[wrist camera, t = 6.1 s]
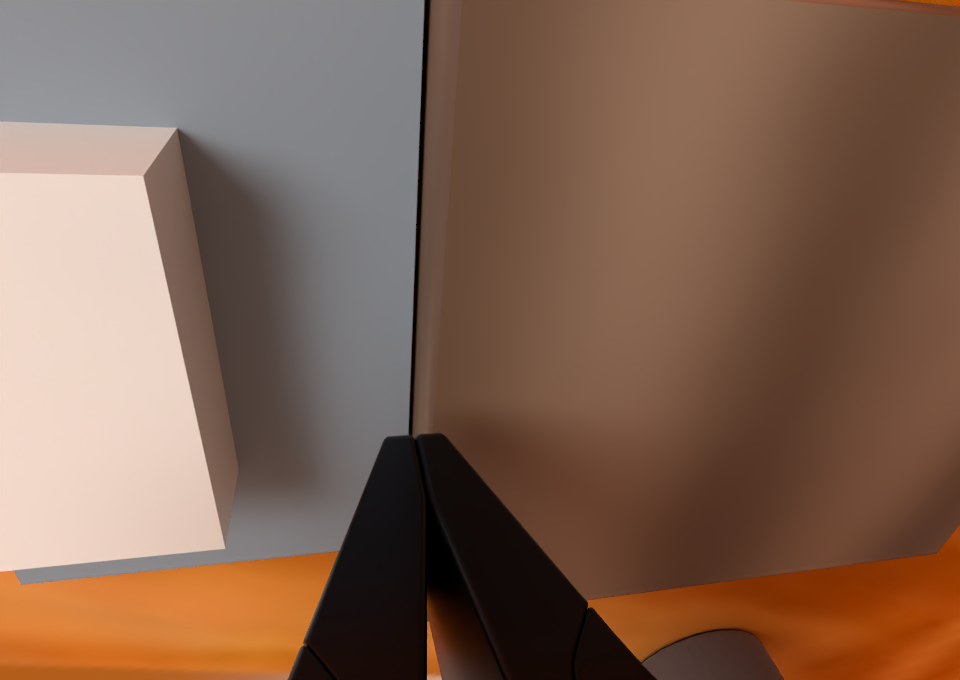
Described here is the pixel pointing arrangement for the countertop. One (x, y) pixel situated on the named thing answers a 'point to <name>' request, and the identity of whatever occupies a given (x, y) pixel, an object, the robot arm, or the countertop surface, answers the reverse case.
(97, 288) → the pale pink rectangular block
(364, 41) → the mat
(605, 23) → the step
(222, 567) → the countertop surface
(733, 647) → the bottle
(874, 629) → the countertop surface
